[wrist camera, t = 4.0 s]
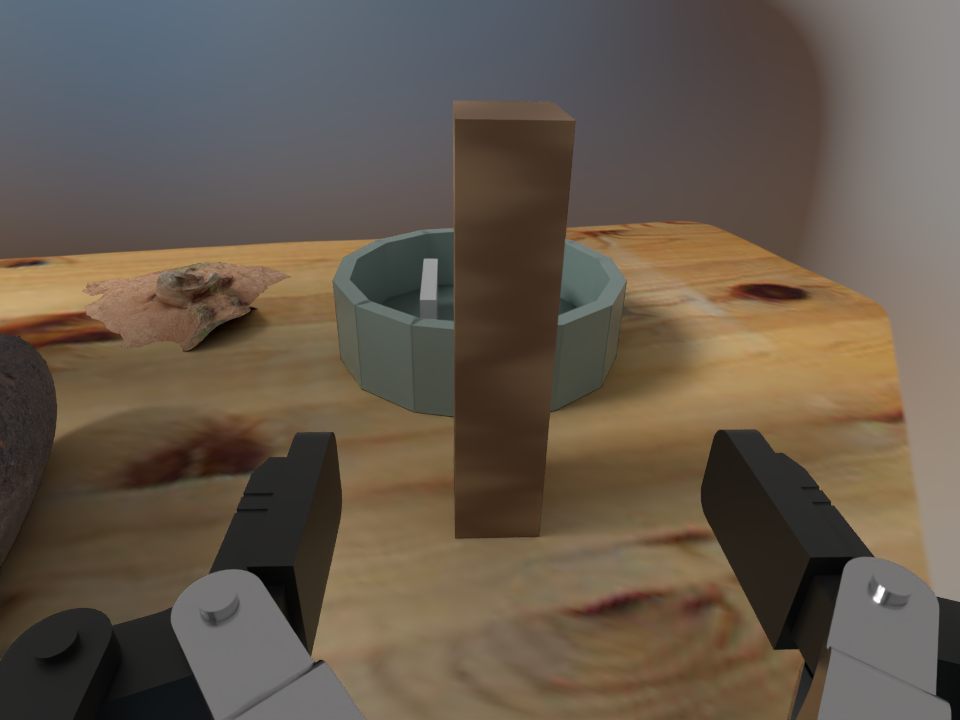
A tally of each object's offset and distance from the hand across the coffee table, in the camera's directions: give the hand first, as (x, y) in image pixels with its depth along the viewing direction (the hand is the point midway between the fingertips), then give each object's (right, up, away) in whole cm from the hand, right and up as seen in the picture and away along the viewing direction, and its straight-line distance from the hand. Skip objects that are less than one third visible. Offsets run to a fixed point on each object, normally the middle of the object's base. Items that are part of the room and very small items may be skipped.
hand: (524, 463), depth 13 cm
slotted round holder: (-1, +3, +22) cm, 22 cm away
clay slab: (-20, +5, +26) cm, 33 cm away
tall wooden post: (0, -3, +11) cm, 11 cm away
